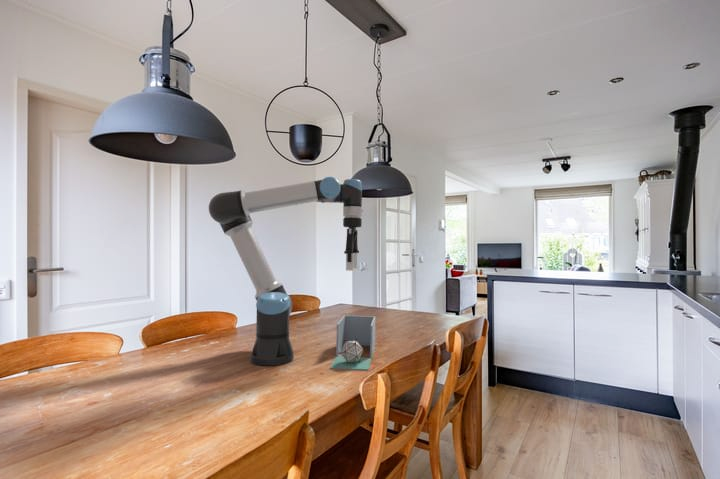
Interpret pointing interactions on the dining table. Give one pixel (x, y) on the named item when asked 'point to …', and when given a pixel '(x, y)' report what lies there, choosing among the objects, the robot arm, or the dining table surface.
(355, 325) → the slot box
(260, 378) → the dining table surface
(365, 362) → the mat
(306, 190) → the robot arm
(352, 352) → the game die
